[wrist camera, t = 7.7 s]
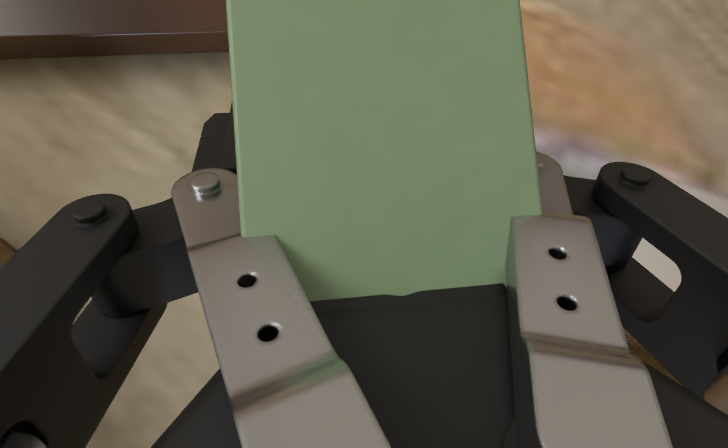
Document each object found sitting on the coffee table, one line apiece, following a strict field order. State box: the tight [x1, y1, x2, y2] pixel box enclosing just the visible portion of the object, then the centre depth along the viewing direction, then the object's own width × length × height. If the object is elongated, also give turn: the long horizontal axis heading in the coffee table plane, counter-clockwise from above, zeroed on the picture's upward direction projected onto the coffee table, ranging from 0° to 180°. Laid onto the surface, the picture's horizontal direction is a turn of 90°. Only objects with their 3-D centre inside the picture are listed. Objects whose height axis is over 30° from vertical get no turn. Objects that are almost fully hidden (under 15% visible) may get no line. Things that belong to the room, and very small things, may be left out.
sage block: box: [226, 0, 543, 301], centre depth 12 cm, size 5×6×10 cm
